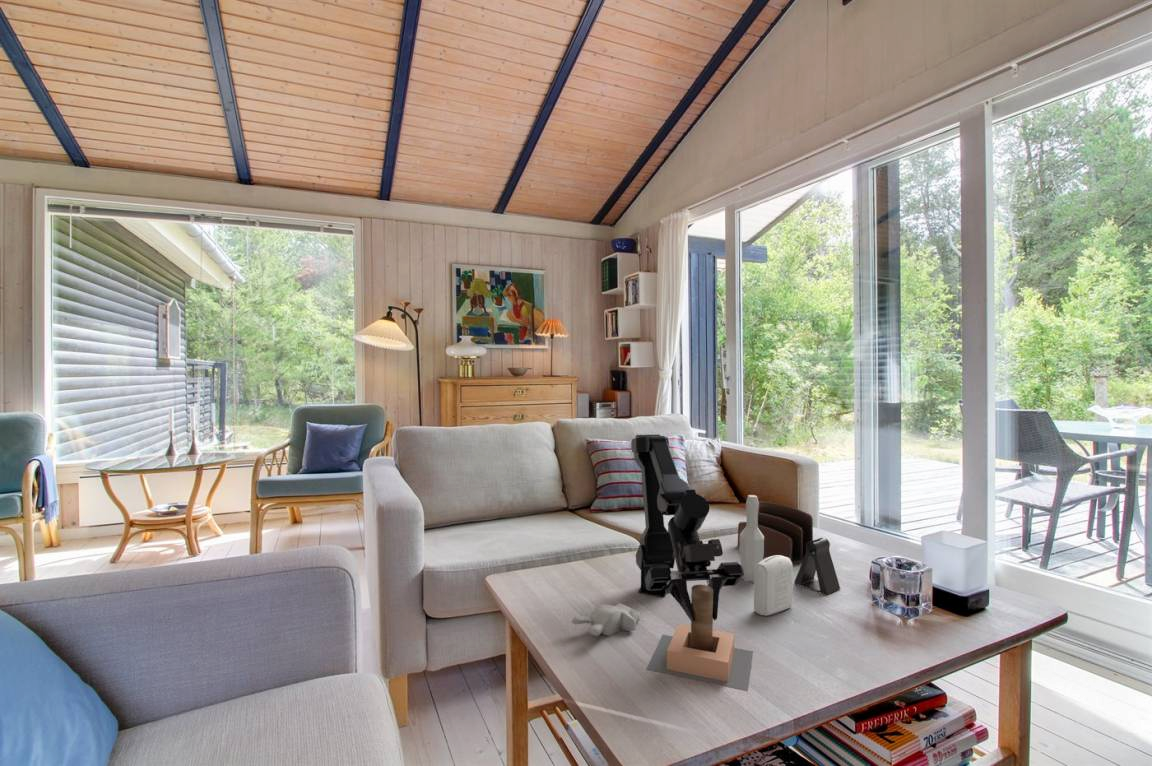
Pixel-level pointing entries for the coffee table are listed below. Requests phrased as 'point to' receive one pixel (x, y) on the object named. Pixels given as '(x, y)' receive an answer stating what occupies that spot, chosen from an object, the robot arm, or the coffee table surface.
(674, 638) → the socket block
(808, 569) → the phone stand
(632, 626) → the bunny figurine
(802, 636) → the coffee table surface
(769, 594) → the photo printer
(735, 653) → the mat
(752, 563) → the faceted bottle
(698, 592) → the walnut peg
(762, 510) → the letter holder
